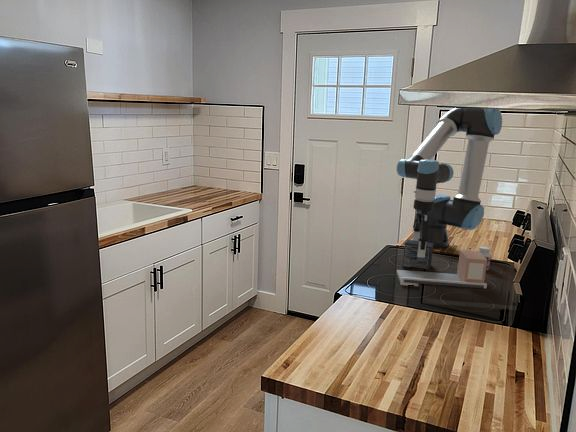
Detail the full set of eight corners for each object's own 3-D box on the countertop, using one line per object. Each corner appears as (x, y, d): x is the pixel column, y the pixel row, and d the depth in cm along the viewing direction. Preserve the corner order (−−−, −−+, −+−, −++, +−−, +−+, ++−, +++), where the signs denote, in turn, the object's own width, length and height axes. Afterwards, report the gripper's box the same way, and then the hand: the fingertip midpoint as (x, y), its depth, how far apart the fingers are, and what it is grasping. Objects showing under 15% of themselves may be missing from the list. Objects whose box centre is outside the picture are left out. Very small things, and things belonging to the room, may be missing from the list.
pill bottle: (489, 273, 191) (493, 250, 189) (475, 272, 192) (478, 249, 190) (487, 269, 196) (490, 246, 194) (473, 267, 197) (476, 245, 195)
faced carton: (456, 275, 184) (460, 250, 182) (475, 276, 184) (479, 251, 181) (463, 284, 174) (467, 258, 172) (483, 286, 174) (487, 260, 171)
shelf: (396, 272, 187) (397, 265, 187) (475, 278, 185) (476, 271, 184) (400, 285, 175) (401, 277, 174) (486, 291, 172) (487, 284, 172)
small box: (431, 267, 195) (434, 242, 193) (428, 272, 189) (431, 247, 187) (405, 263, 199) (407, 238, 197) (401, 267, 194) (404, 242, 191)
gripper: (409, 193, 200) (403, 242, 205) (420, 205, 176) (413, 260, 181) (428, 194, 199) (421, 244, 204) (441, 207, 175) (433, 262, 180)
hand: (417, 252), depth 193 cm, fingers open, 13 cm apart
